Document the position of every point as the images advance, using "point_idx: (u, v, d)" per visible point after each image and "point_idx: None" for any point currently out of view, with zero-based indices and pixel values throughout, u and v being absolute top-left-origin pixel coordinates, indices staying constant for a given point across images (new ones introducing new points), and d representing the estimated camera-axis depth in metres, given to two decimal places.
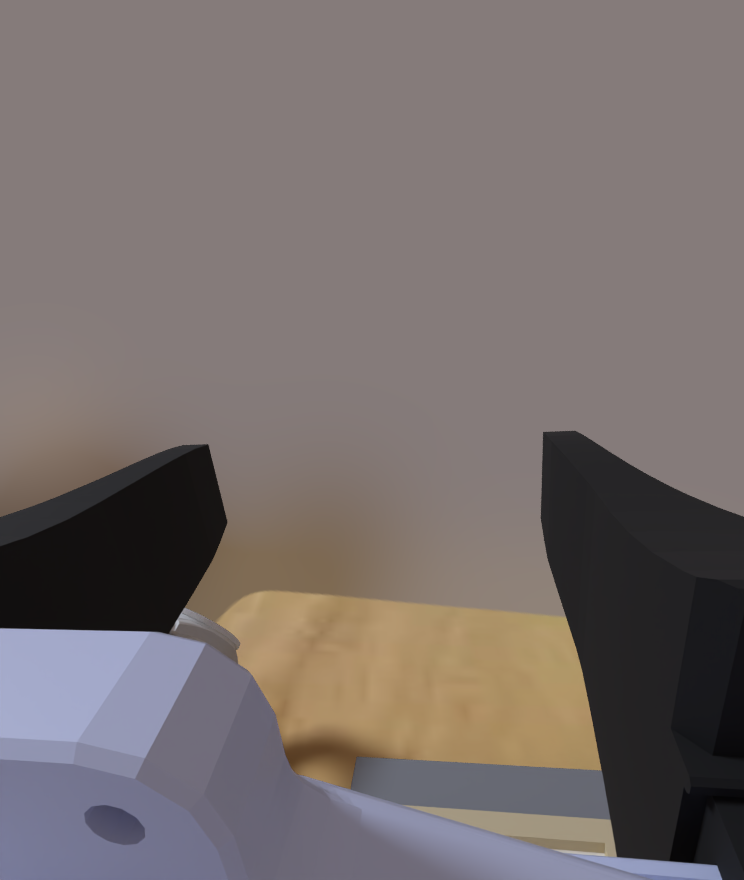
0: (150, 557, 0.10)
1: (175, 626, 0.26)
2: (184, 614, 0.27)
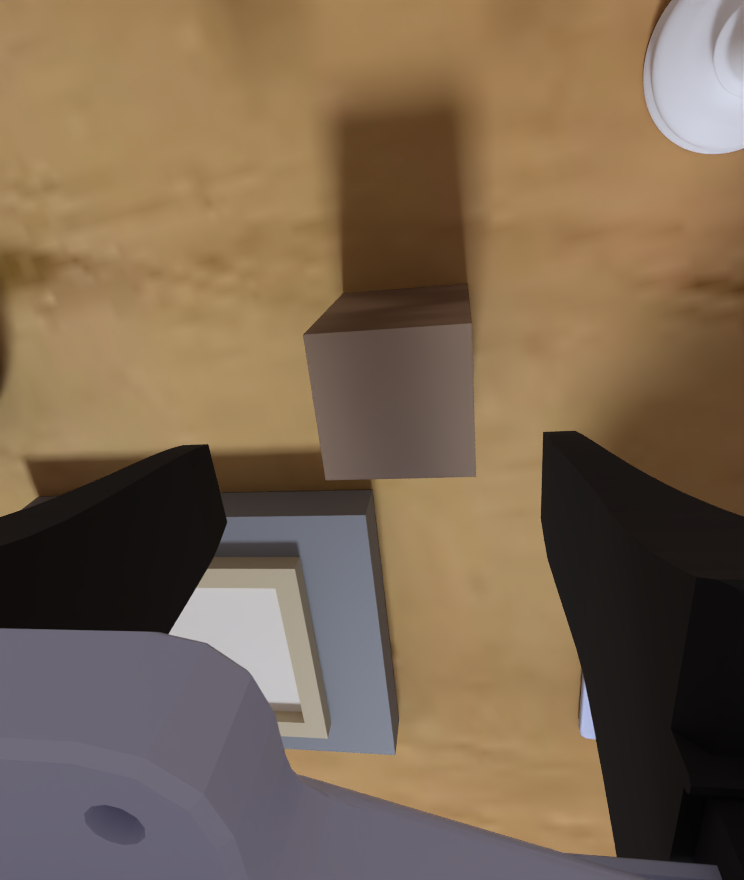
0: (150, 557, 0.10)
1: None
2: None
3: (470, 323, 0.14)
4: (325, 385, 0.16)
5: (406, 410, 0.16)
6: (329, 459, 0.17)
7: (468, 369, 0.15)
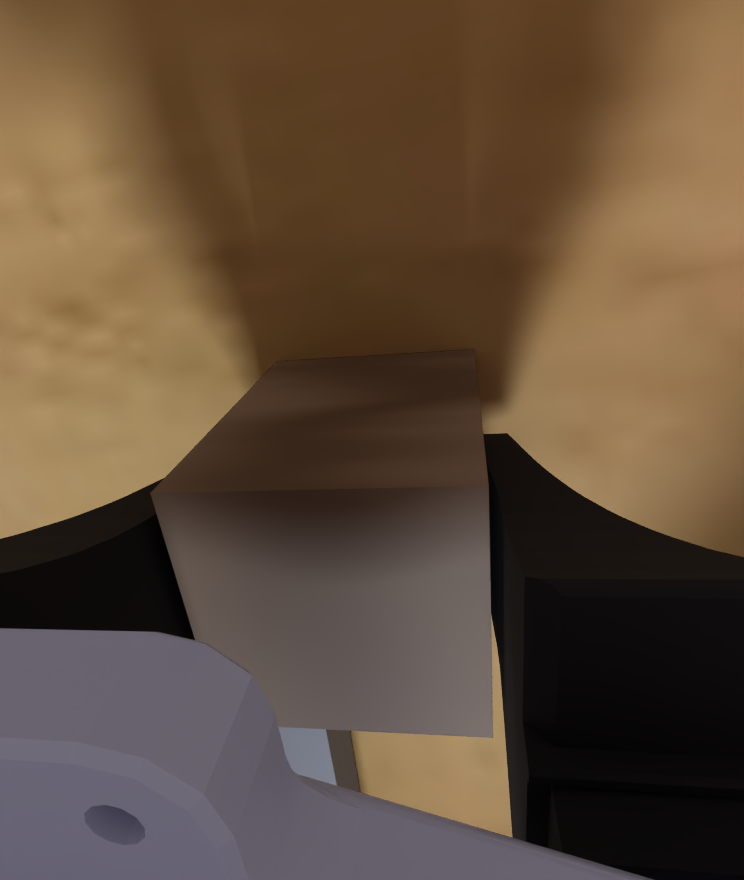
0: None
1: None
2: None
3: (486, 485, 0.07)
4: (203, 580, 0.08)
5: (359, 627, 0.08)
6: None
7: (481, 567, 0.07)
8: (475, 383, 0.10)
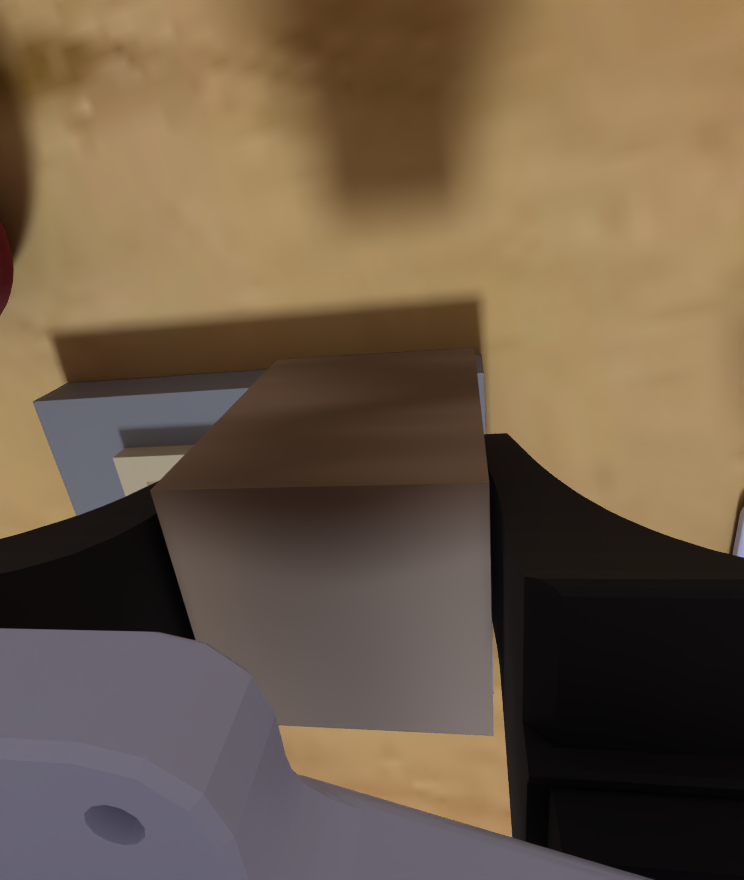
0: None
1: None
2: None
3: (486, 482, 0.07)
4: (202, 577, 0.08)
5: (360, 626, 0.08)
6: None
7: (481, 565, 0.07)
8: (475, 381, 0.10)
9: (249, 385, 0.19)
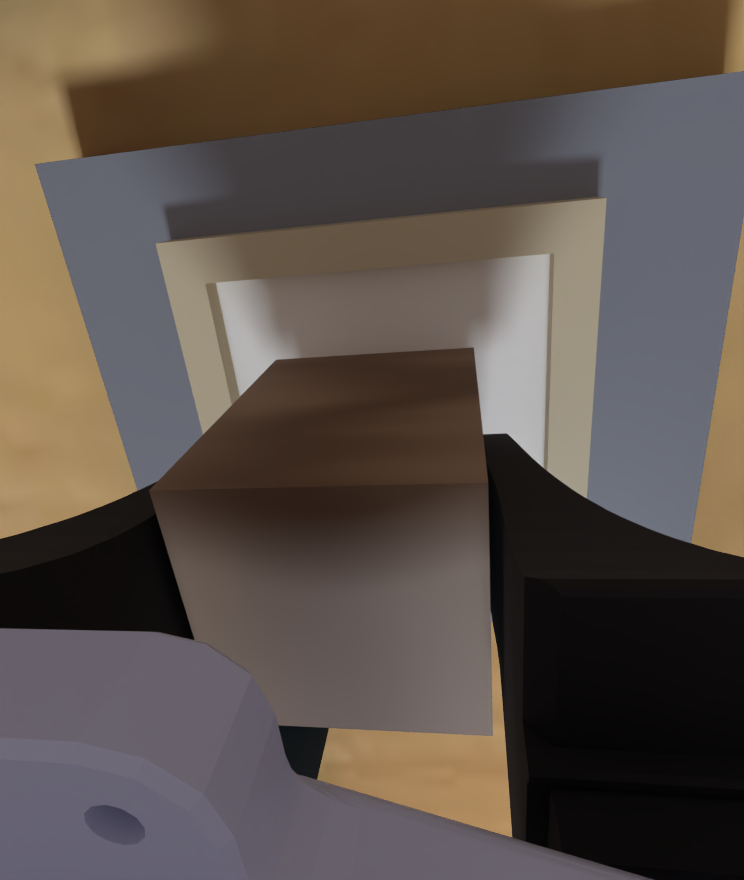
0: None
1: None
2: None
3: (485, 482, 0.07)
4: (201, 578, 0.08)
5: (358, 625, 0.08)
6: None
7: (480, 565, 0.07)
8: (474, 381, 0.10)
9: None
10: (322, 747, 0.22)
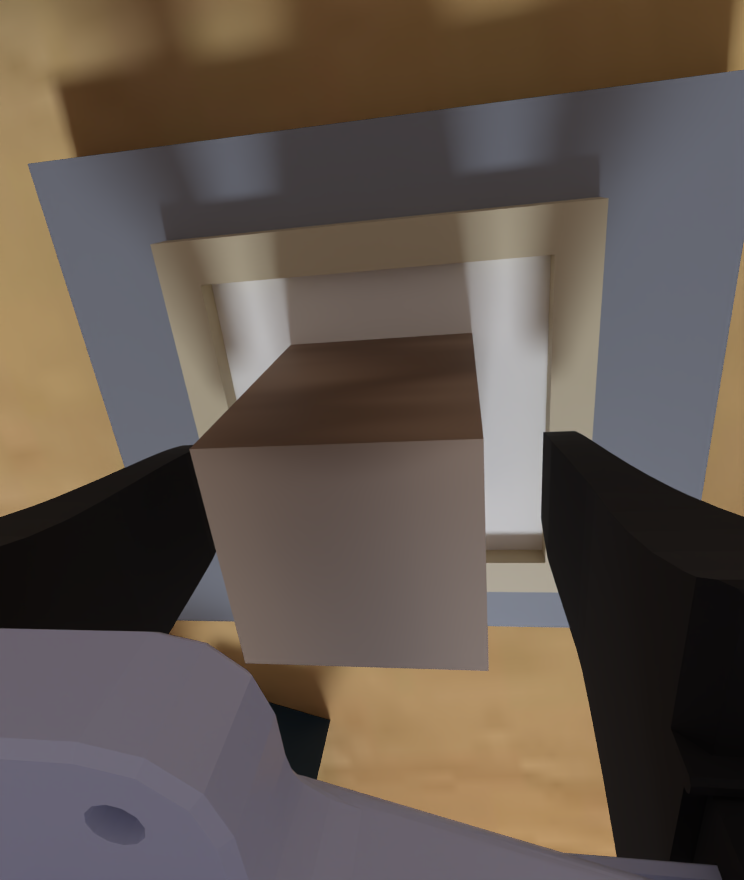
0: (150, 557, 0.10)
1: None
2: None
3: (481, 438, 0.08)
4: (233, 528, 0.09)
5: (370, 570, 0.09)
6: (249, 635, 0.10)
7: (477, 512, 0.09)
8: (473, 360, 0.11)
9: None
10: (320, 752, 0.22)
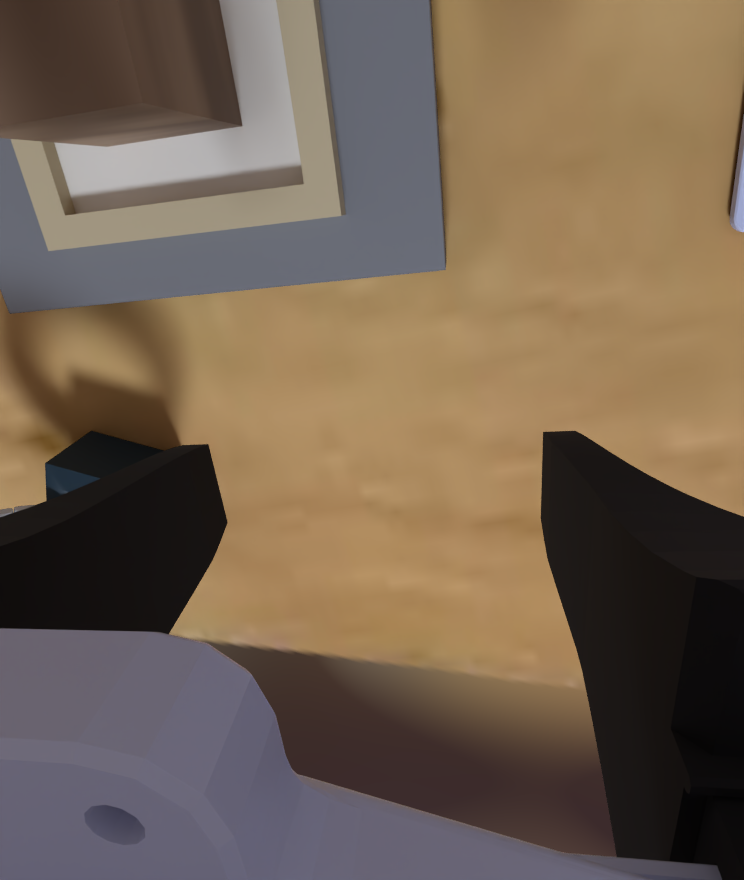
0: (150, 557, 0.10)
1: None
2: None
3: None
4: None
5: None
6: None
7: None
8: None
9: None
10: None
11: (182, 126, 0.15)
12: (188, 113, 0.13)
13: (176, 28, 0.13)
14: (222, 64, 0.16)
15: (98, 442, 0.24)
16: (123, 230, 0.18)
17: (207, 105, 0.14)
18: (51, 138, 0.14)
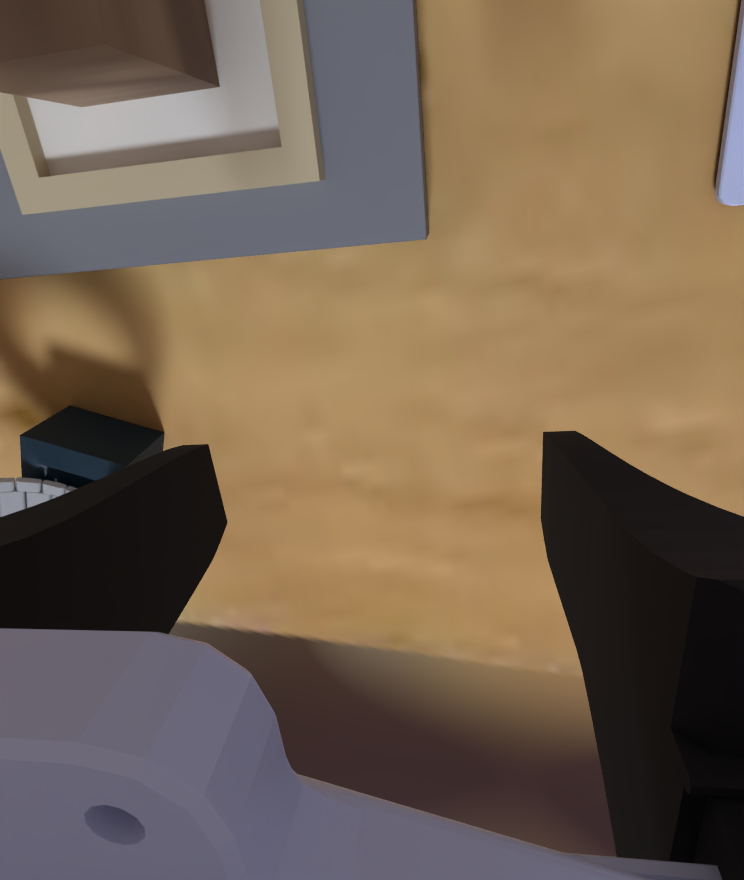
0: (150, 557, 0.10)
1: None
2: None
3: None
4: None
5: None
6: None
7: None
8: None
9: None
10: (146, 447, 0.23)
11: (156, 82, 0.15)
12: (158, 63, 0.13)
13: None
14: (198, 20, 0.15)
15: (76, 416, 0.24)
16: (98, 193, 0.18)
17: (180, 59, 0.14)
18: (19, 90, 0.14)
